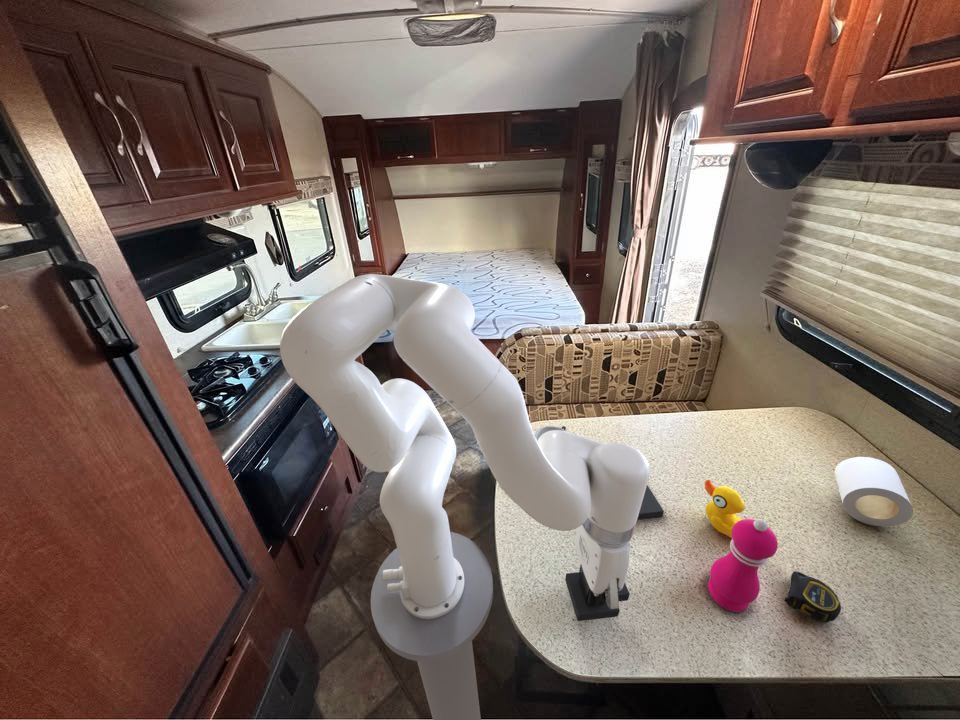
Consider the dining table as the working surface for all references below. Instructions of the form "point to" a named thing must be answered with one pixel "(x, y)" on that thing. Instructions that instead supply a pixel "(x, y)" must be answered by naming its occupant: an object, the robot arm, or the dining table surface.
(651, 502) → the base pad
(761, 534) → the pepper mill
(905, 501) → the toilet paper
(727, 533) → the duckling
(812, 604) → the tape measure
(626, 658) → the dining table surface
